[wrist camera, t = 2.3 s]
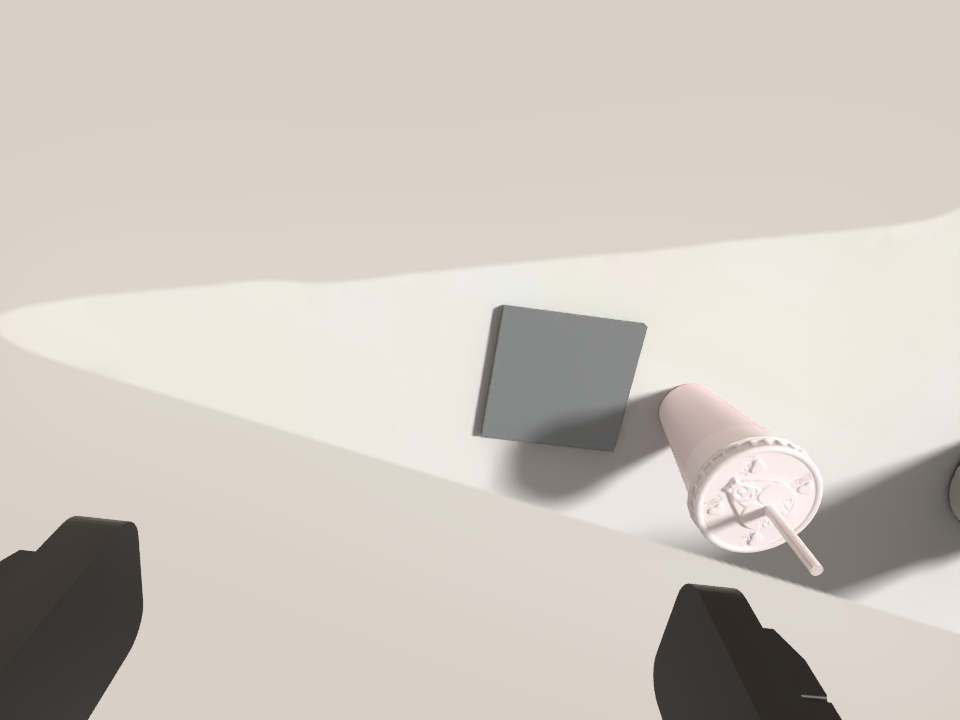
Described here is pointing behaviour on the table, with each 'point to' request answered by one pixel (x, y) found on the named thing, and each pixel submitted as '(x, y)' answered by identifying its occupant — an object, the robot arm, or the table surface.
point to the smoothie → (740, 475)
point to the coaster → (561, 378)
